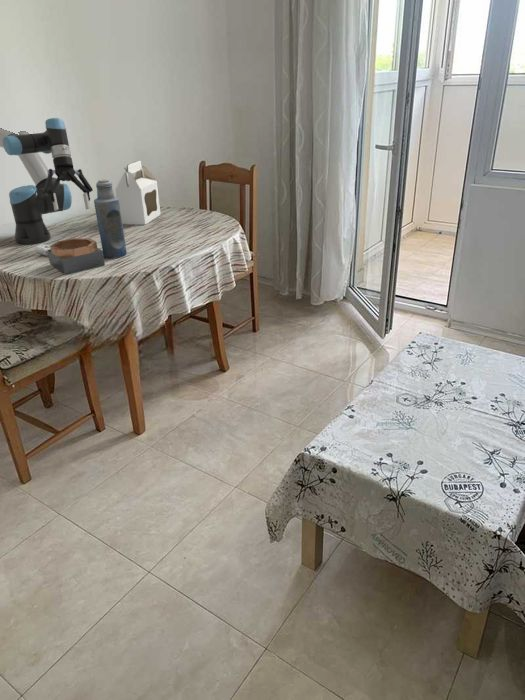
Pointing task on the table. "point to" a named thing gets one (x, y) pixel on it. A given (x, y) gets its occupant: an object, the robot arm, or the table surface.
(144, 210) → the gable box
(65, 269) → the copper and grey block
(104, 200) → the bottle
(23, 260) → the table surface
